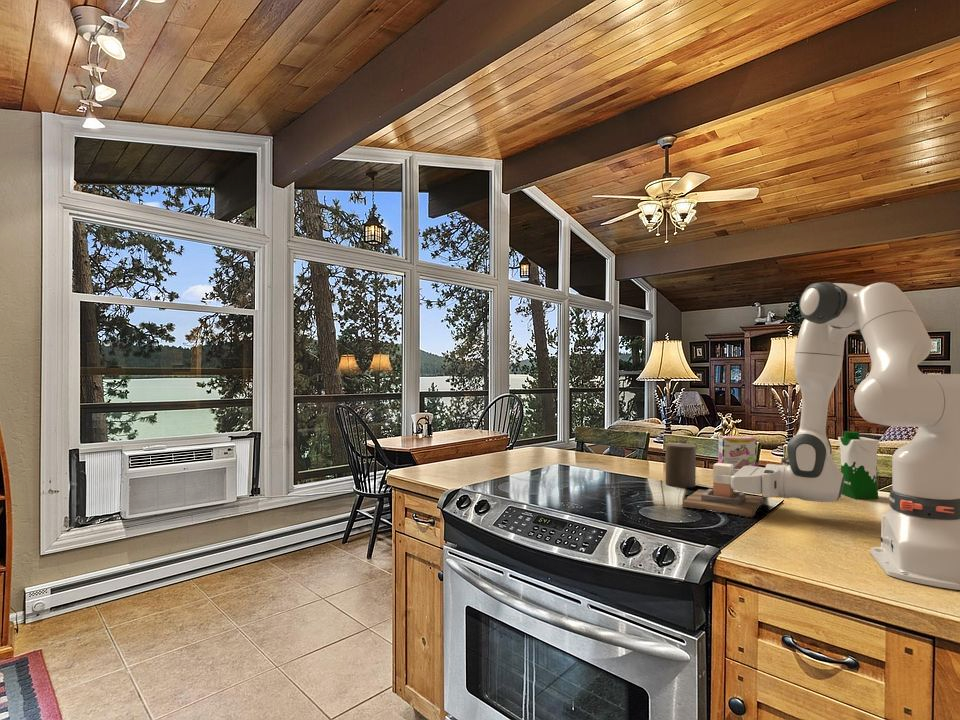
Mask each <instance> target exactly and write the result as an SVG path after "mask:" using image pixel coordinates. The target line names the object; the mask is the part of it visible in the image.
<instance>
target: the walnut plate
mask: <svg viewBox="0 0 960 720" xmlns="http://www.w3.org/2000/svg"><path fill="white" fill-rule="evenodd" d="M762 502H763V503H764V497H763V496H756V495H755V496H754V495H749V494H746V492H742V491H734V490H733V498H728V497H720V496H713V488H708V489H697V490H696V491H694V492H693V493H692V494H690V495H689V496H688V497H686V498H685V499H684V500H683V501H682V508H683V507H690V508H697V509H706V510H712V511H719V512H725V513H731V514H739V515H745V516H753V515H754V514H755V512H756V511H757V509H758V508H759V506H760V505H761V503H762ZM757 512H758V511H757ZM755 515H756V514H755ZM755 515H754V516H755Z"/></svg>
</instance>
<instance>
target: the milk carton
mask: <svg viewBox="0 0 960 720" xmlns="http://www.w3.org/2000/svg"><path fill="white" fill-rule="evenodd" d="M837 439H838V443H839V449H840V471H841V472H842V473H843V475H844V485H843V490H842V494H841V495H844V496H846V497H850V498H851V499H855V500H879V490H878V489H879V488H878V448H879V444H880V440H879V439H874V438H870V437H869V438H868V437H864V436H860V432H859V431H854V430H844V431H843V436H838V437H837Z"/></svg>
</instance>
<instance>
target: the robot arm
mask: <svg viewBox="0 0 960 720" xmlns="http://www.w3.org/2000/svg"><path fill="white" fill-rule="evenodd" d="M799 298H800V299H799V302H798V304H799V305H798V306H799V307H798V308H799V309H798V310H799V311H800V315H801V317H803V321H802V323H801V325H800V327H799V328H800V329H799V332H798V336H797V339H796V344H795V351H794V356H793V357H794V358H793V359H794V361H793V363H794V365H793V366H794V367H793V369H794V376H795V381H796V383H797V384H798V387H799V388H800V393H801V399H802V402H801V414H800V422H799V428H798V429H797V430H798V431H797V432H796V434H795V435H794V436H793V437H792V438H791V439H789V441H788V443H787V445H786V450H785V451H786V455H787V458H788V459H789V463H790V465H789V466H787V465H782V464H775V463H774V464H773V463H766V465H765V467H762V466H756V467H755V466H743V467H742V468H741V469H733V475H732V476H726V475H722V474H718V475H716V481H719V482H724V483H727V484H731V488H732V489H733V491H734V490H735V491H736V492H742V493H747V494H754V495H761V497H763V498H783V499H790V498H791V499H794V498H795V499H800V500H802V501H807V502H818V503H834V502H836V501H838V500H839V499H840V498H841V497H842V495H843V494H842V490H843V485H844V475H843V473H842V472H841V469H840V468H839V467H838V466H837V464H836V462H835V460H834V459H833V457H832V452H833V449H832V445H831V441H830V439H829V437H828V434H827V423H828V413H829V405H830V399H831V395H832V393H833V391H834V389H835V387H836V385H837V383H838V379H839V377H840V374H841V370H842V366H843V361H844V350H845V341H846V338H847V337H848V335H849V334H851V333H852V332H854V333H855V334H857V335H858V336H860V335H861V336H862V339H863V340H864V343H865V345H866V348H867V350H868V354H869V357H870V361H871V367H870V372H869V374H868V375H867V377H865V378H864V379H863V380H862V381H861V382H860V383H859V384H858V385H857V387H856V389H855V392H854V397H853V402H854V406H855V409H856V411H857V413H858V414H859V416H860V417H862V419H863V420H864V421H866V422H868V423H872V424H877V425H882V426H888V427H896V428H897V427H899V428H901V427H902V428H904V427H905V428H906V427H908V428H910V427H912V428H916V427H917V431H916V433H915V435H914V436H913V438H912V439H911V440H909V442H908V443H906V444H904V445H902V446H900V447H899V448H897V449H896V450H895V451H894V453H893V455H892V458H891V463H892V464H891V469H892V470H891V473H892V475H891V476H892V478H891V480H892V481H891V484H892V488H891V489H890V490H889V496H888V499H889V507H890V509H889V510H888V511H887V512H885V513H884V514H882V515H881V527H880V529H881V535H880V536H881V537H880V543H881V546H872V547H871V548H870V554H871V555H872V556H873V559H875V560H876V562H877V563H878V564H879V566H880V567H881V568H882V570H883V571H884V572H885V574H887V575H888V576H890V577H894V578H897V579H899V580H902V581H903V580H904V581H907V582H912V583H915V584H916V583H917V584H920V585H921V584H922V585H927V586H931V587H936V588H944V589H949V590H956V591H960V373H923V372H922V371H921V370H920V368H919V367H918V365H919V364H920V363H922V362H924V360H926V359H927V358H928V356H929V355H930V354H931V352H932V347H933V342H932V339H931V337H930V335H929V334H928V331H927V329H926V327H925V326H924V323H923V322H922V319H921V317H920V316H919V314H918V312H917V310H916V308H915V307H914V305H913V304H912V302H911V301H910V299H909V298H908V297H907V295H906V294H905V293H904V292H903V291H902V290H901V289H900V288H899V287H898V286H897V285H896V284H893V283H890V282H885V281H884V282H881V281H880V282H875V283H871V284H869V285H866V286H862V285H858V284H854V283H847V282H846V283H843V282H842V283H841V282H831V281H830V282H829V281H821V282H819V281H818V282H815V283H811V284H809V285H808V286H807V287H806V288H805V289H804V291H803V292H802V294H801V296H800V297H799Z"/></svg>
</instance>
